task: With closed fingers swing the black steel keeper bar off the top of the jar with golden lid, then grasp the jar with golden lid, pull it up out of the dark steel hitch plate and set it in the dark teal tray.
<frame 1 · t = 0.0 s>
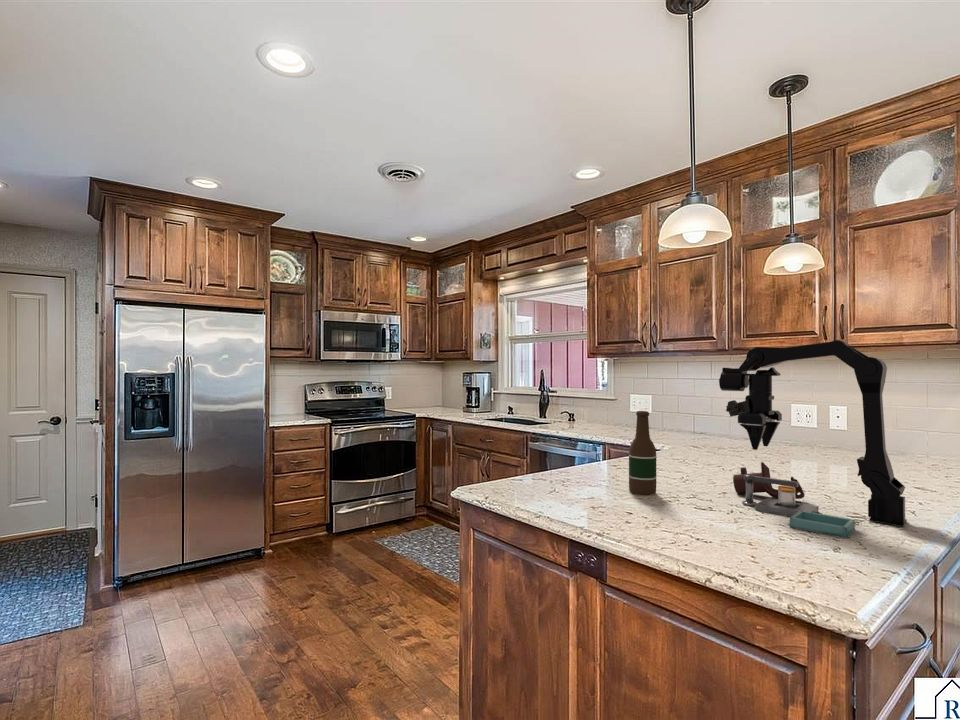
hand: (760, 447, 147), 15 cm above the worktop, fingers open, 9 cm apart
jar with golden lid: (786, 511, 136), resting in hitch plate
tray: (821, 528, 121), on the worktop
keeper: (770, 480, 139), point 7 cm above the worktop, hinge at 0.0°
hitch plate: (786, 511, 136), on the worktop
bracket: (768, 498, 151), on the worktop
beer bottle: (642, 493, 156), on the worktop
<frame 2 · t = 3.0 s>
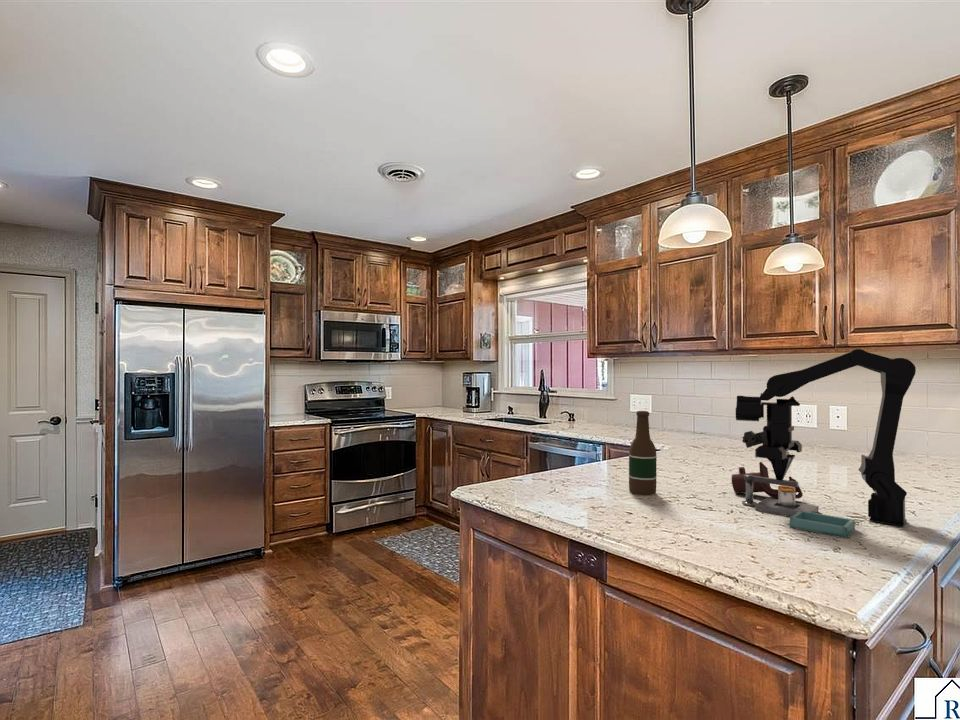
hand: (779, 481, 138), 7 cm above the worktop, fingers closed
keeper: (770, 480, 139), point 7 cm above the worktop, hinge at 0.4°, touching gripper
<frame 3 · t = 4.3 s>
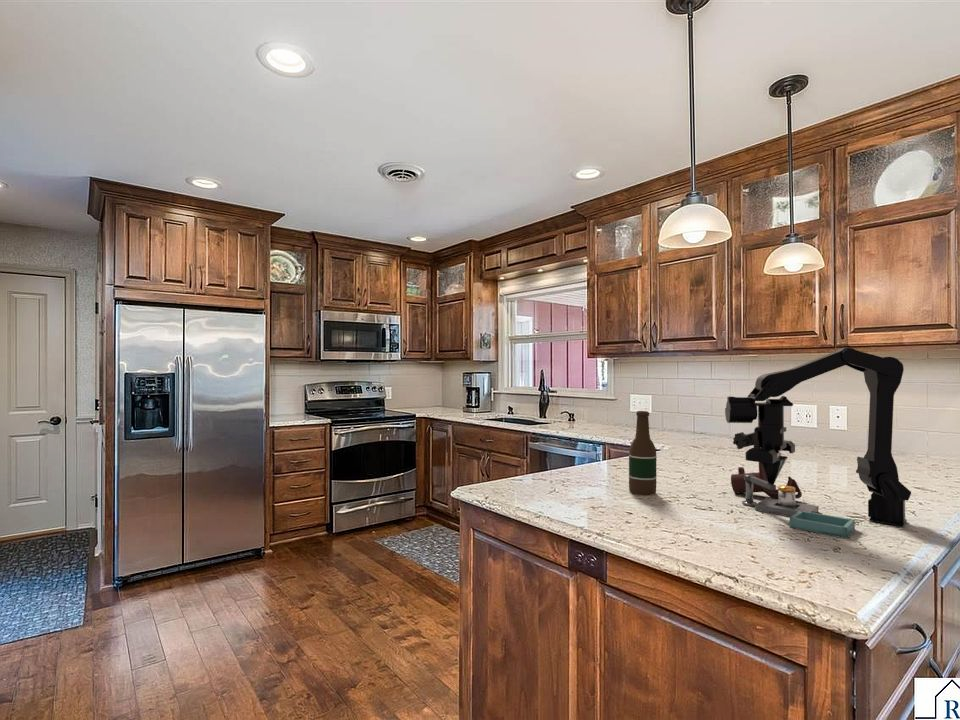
hand: (771, 484, 134), 7 cm above the worktop, fingers closed, pressing on keeper
keeper: (759, 481, 137), point 7 cm above the worktop, hinge at 45.7°, touching gripper
everything else where it was.
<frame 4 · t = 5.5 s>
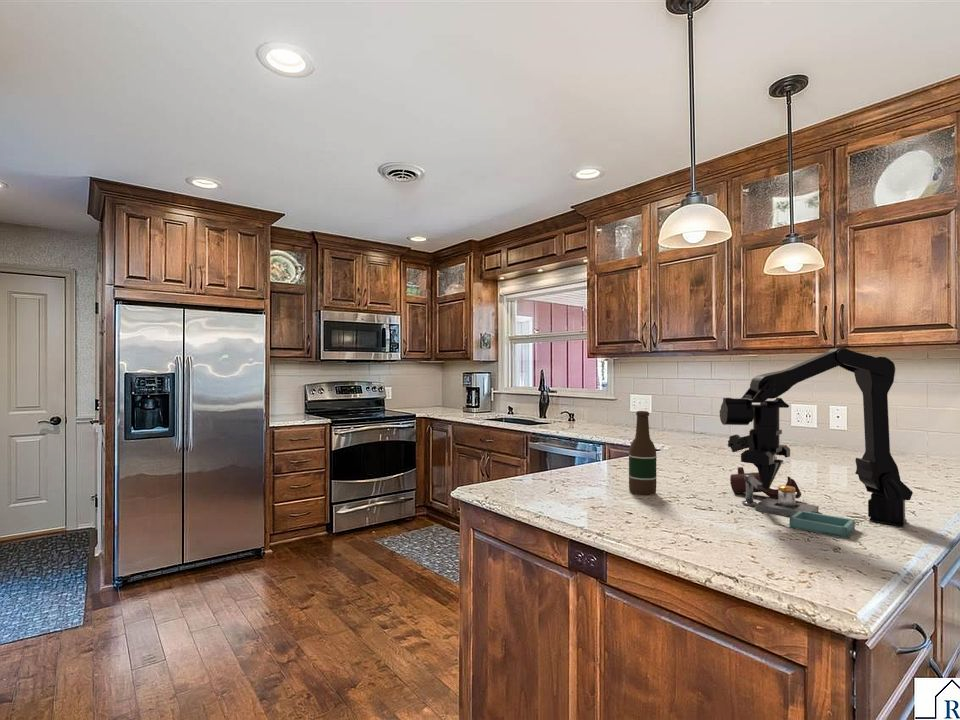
hand: (766, 488, 131), 7 cm above the worktop, fingers closed
keeper: (754, 481, 138), point 7 cm above the worktop, hinge at 60.6°, touching gripper
everything else where it was.
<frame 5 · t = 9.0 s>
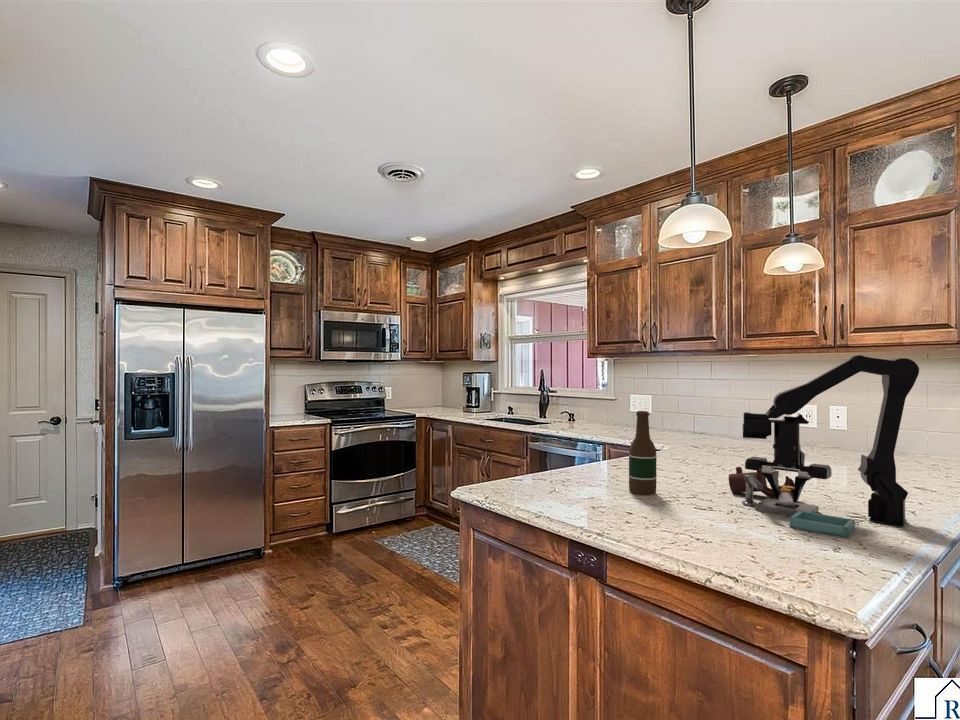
hand: (786, 500, 136), 3 cm above the worktop, fingers closed on jar with golden lid, 4 cm apart
jar with golden lid: (786, 511, 136), resting in hitch plate, touching gripper
keeper: (754, 481, 138), point 7 cm above the worktop, hinge at 60.7°
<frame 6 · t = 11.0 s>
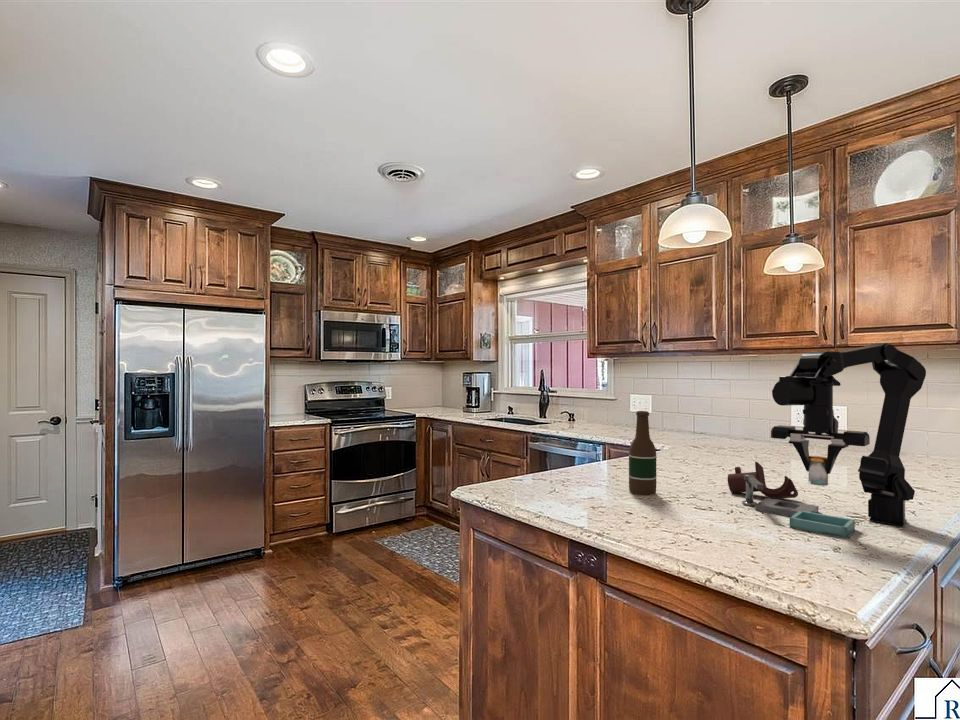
hand: (818, 472, 123), 13 cm above the worktop, fingers closed on jar with golden lid, 4 cm apart
jar with golden lid: (818, 483, 122), point 10 cm above the worktop, touching gripper
when the fingers open (5 cm above the worktop, at t = 12.8 s): jar with golden lid drops 1 cm, resting on tray.
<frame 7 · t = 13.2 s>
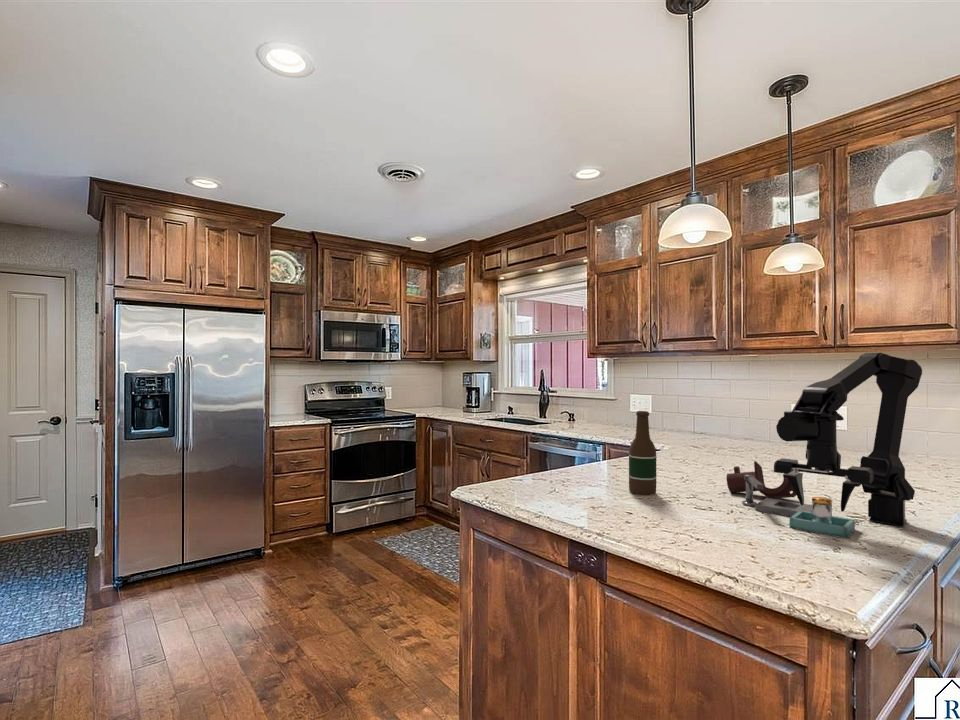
hand: (822, 507, 121), 5 cm above the worktop, fingers open, 8 cm apart
jar with golden lid: (821, 525, 121), point 1 cm above the worktop, touching tray
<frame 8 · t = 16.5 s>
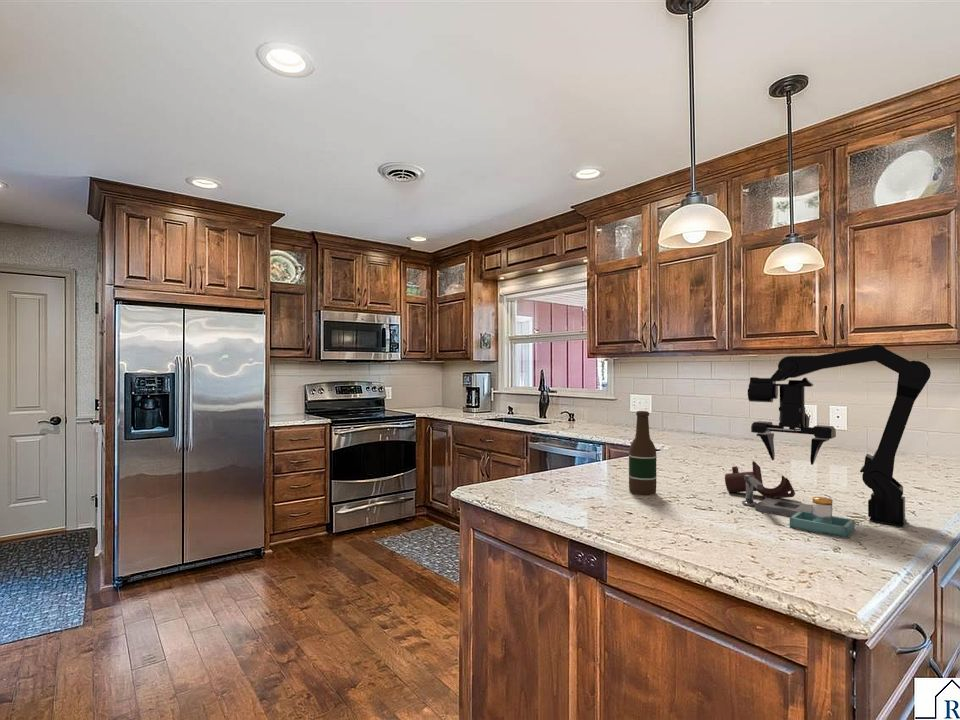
hand: (792, 462, 140), 12 cm above the worktop, fingers open, 9 cm apart
at the end: keeper at +61° (first picture: +0°); jar with golden lid inside the target area on the tray (0.0 cm from its centre), point 0.6 cm above the tray's base; the gripper is holding nothing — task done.
